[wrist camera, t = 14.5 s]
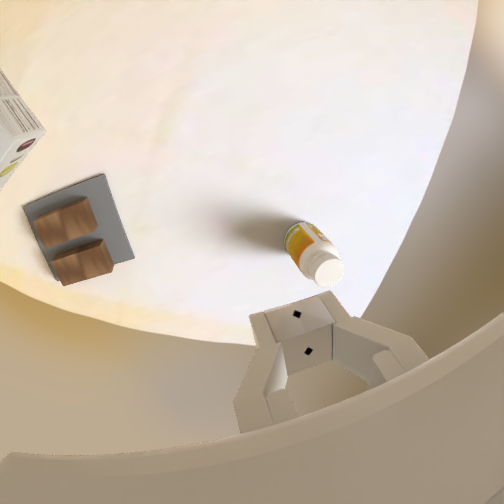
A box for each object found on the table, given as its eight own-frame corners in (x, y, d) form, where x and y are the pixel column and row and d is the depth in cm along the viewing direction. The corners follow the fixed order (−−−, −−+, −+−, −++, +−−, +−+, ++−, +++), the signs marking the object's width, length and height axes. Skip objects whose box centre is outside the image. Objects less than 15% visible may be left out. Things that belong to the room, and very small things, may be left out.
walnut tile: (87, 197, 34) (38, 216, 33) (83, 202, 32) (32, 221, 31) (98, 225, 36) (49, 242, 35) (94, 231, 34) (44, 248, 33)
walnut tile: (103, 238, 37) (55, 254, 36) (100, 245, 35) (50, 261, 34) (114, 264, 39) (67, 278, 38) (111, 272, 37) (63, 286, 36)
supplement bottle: (284, 258, 45) (308, 297, 36) (281, 224, 42) (308, 258, 34) (318, 251, 45) (348, 286, 37) (317, 218, 43) (350, 249, 34)
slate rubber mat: (24, 206, 32) (23, 207, 32) (104, 173, 33) (104, 174, 33) (57, 280, 38) (57, 281, 38) (134, 257, 39) (134, 258, 39)
